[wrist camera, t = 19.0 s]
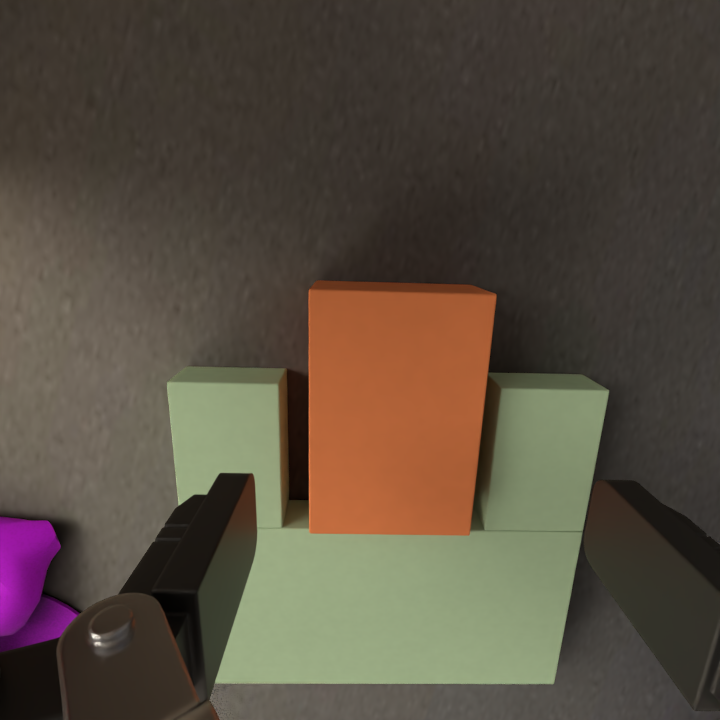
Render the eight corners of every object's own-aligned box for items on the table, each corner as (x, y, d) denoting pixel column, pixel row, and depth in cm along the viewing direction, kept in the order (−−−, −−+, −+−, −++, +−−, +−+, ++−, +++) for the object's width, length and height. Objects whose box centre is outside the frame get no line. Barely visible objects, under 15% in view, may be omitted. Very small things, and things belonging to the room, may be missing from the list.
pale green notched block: (582, 373, 18) (610, 390, 16) (536, 644, 21) (554, 684, 20) (186, 366, 17) (165, 381, 15) (209, 643, 21) (194, 683, 19)
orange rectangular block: (472, 284, 17) (497, 293, 14) (452, 491, 19) (470, 536, 16) (315, 280, 17) (308, 288, 14) (315, 489, 19) (308, 534, 16)
